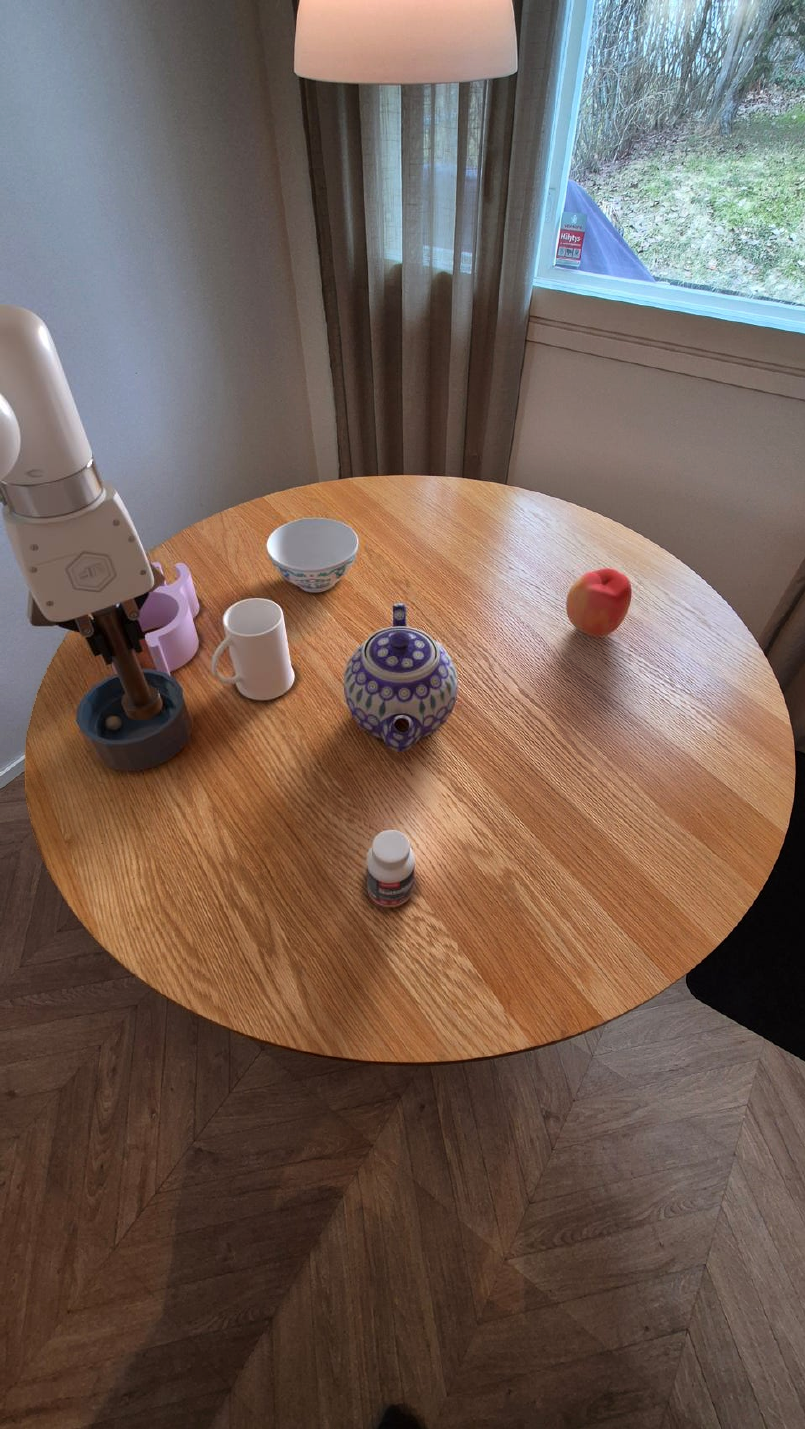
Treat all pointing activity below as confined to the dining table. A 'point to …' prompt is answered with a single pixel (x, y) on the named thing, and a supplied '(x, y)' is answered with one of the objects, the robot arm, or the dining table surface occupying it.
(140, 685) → the rod
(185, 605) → the clip
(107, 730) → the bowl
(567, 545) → the dining table surface
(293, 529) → the chinaware
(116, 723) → the bead
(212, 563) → the dining table surface
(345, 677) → the teapot
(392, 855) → the pill bottle
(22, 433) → the robot arm
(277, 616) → the mug
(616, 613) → the apple
